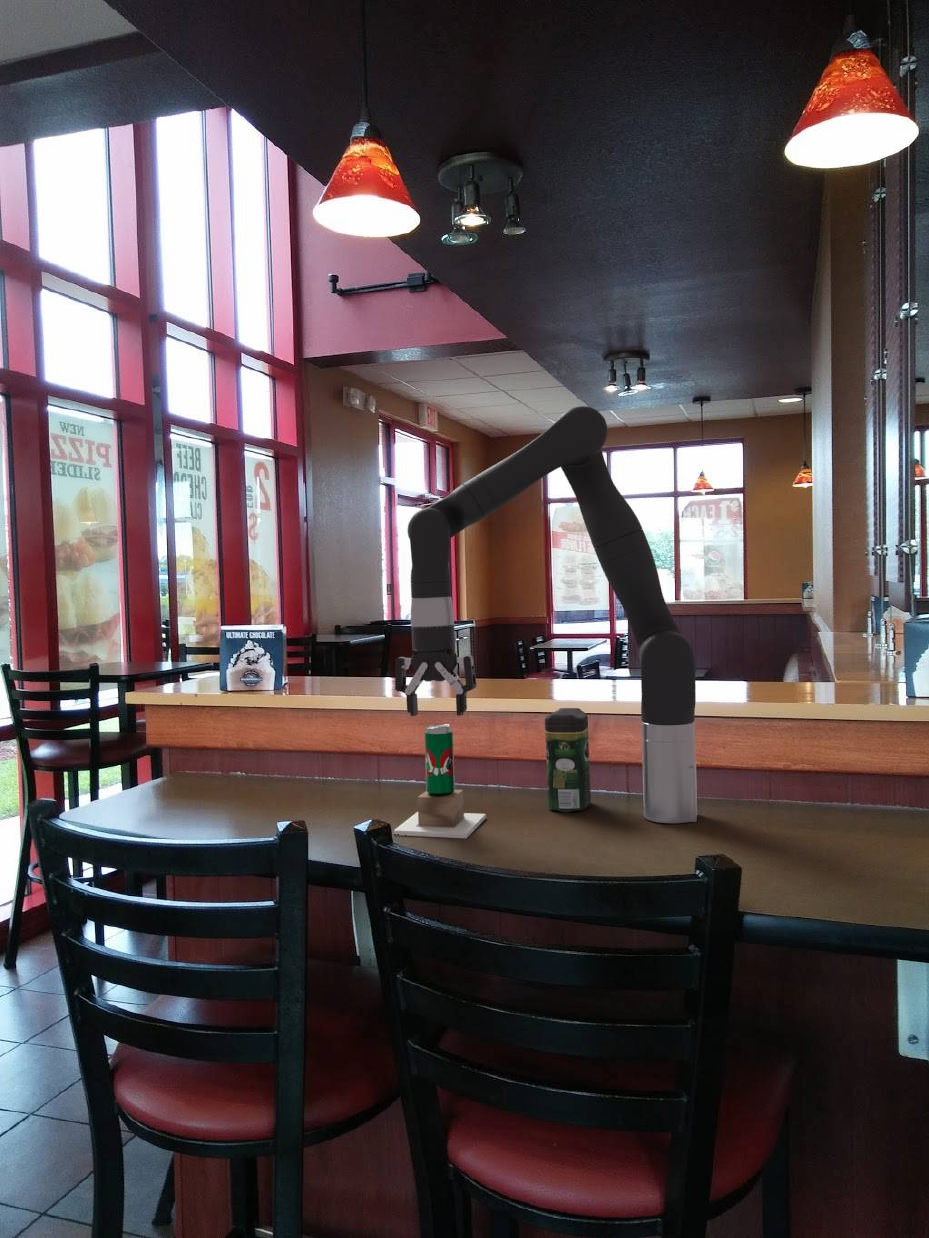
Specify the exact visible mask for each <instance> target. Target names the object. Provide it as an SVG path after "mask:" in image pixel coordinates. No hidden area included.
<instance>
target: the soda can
mask: <svg viewBox="0 0 929 1238" xmlns="http://www.w3.org/2000/svg"><path fill="white" fill-rule="evenodd" d="M451 727H452V726H451V725H450V724H447V723H445V724H444V723H440V724H439V723H437V724H429V725H426V727H425V729H426V730H425V731H424V732H423V733H424V759H425V761H424V763H425V784H426V785H425V789H426V790H425V791H427V792H428V793H429V794H430V795H433V796H446V795H450V794H452V793H453V792H454V790H456V784H455V783H456V781H455V780H456V779H455V778H456V777H455V754H454V753H455V752H454V750H455V749H454V731H453V729H452V728H451Z"/></svg>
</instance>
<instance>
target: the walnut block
mask: <svg viewBox="0 0 929 1238" xmlns="http://www.w3.org/2000/svg"><path fill="white" fill-rule="evenodd" d="M464 805H465V804H464V789H455V790H454V792H453V793H452V794H450V795H446V796H433V795H430V794H429V793H428V792H427V791H426V790H425V791H424V792H422V793H421V794H420V795H419V796H417V812H418V824H419V825H420V826H441V827H454V826H455V825H456V824H457V823H459V822H460V821H461V820H462V819H463V818H464V813H465V807H464Z"/></svg>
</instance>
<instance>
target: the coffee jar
mask: <svg viewBox="0 0 929 1238" xmlns="http://www.w3.org/2000/svg"><path fill="white" fill-rule="evenodd" d="M544 737H545V751H546V753H545V754H546V760H545V761H546V783H547V784H546V790H547V792H546V793H547V795H546V796H547V799H546V800H547V807H548V808H549V809H550V810H554V811H559V812H561V813H572V812H574V811H575V812H577V811H585V810H586V809H587V808H588V807H589V806H590V803H591V800H592V795H591V794H592V792H591V791H592V789H591V775H590V773H591V771H590V770H591V769H590V768H591V767H590V749H589V748H590V746H589V745H590V744H589V741H590V740H589V716H588V714H587V713H586V712H585V711H583V710H582V709H581V708H579V707H578V708H577V707H576V708H575V707H561V708H559V709H558V710H556V711H553V712H552V713H550V714H548V715H547V716H546V717H545V718H544Z"/></svg>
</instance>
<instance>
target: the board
mask: <svg viewBox="0 0 929 1238" xmlns="http://www.w3.org/2000/svg"><path fill="white" fill-rule="evenodd" d="M486 815H487V814H486V813H473V812H472V813H471V812H469V813H467V812H464V818H463V819H462V820H461V821H460V822H459V823H457V824H456V825H455V826H454V827H441V826H420V825H419V824H418V811H417V812H415V813H414V814H412V816H410V817H409V818H408V819H407V820H405V821H404V822H402V823H401V824H400V825H399V826H398V827H396V828H395V829H394V830H393V835H394V834H396V835H395V836H405V835H406V836H409V837H426V838H427V837H428V838H449V839H451V838H452V839H467V838H468V837H470V836H471V834H472V833H473V832H474V831H475V830H476V829H477V828H478V827H479V826H480V825H481V824H483V822H484V821H485V820H486V818H487V816H486ZM397 834H399V835H397Z"/></svg>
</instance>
